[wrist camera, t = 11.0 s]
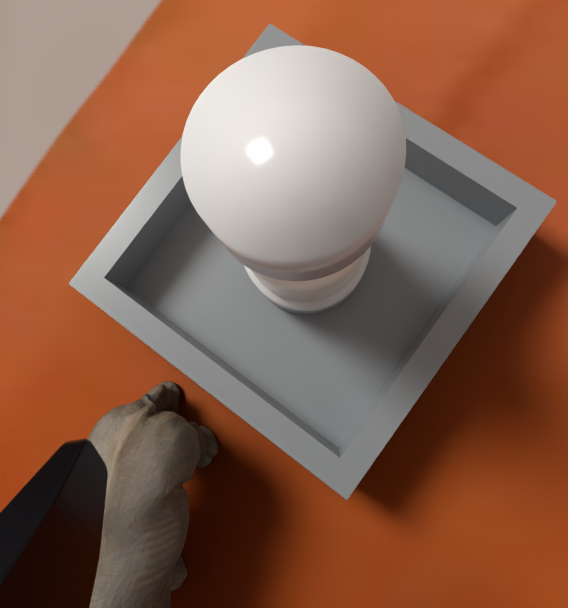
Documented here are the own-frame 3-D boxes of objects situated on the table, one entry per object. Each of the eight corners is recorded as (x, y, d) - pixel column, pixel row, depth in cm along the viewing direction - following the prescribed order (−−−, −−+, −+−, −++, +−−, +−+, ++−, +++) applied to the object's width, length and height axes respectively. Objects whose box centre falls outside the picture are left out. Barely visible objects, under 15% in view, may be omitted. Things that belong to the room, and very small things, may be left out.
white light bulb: (379, 220, 20) (433, 76, 10) (345, 330, 20) (367, 289, 10) (271, 189, 21) (222, 23, 11) (234, 294, 20) (149, 222, 10)
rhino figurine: (61, 714, 19) (-56, 866, 13) (143, 374, 21) (71, 376, 15) (158, 743, 19) (82, 914, 13) (234, 394, 20) (197, 404, 15)
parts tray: (523, 225, 20) (556, 201, 17) (343, 480, 20) (346, 499, 17) (276, 69, 22) (269, 23, 19) (103, 295, 21) (68, 283, 18)
